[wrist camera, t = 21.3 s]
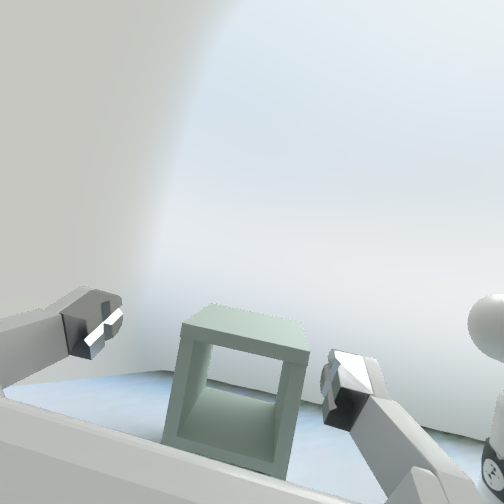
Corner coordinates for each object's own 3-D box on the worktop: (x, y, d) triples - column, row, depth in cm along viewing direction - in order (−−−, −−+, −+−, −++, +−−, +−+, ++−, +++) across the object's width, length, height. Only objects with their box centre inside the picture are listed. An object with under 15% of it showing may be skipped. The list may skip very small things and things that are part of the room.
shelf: (276, 454, 49) (301, 322, 49) (274, 542, 34) (310, 351, 34) (187, 430, 51) (211, 303, 51) (149, 503, 36) (182, 322, 36)
